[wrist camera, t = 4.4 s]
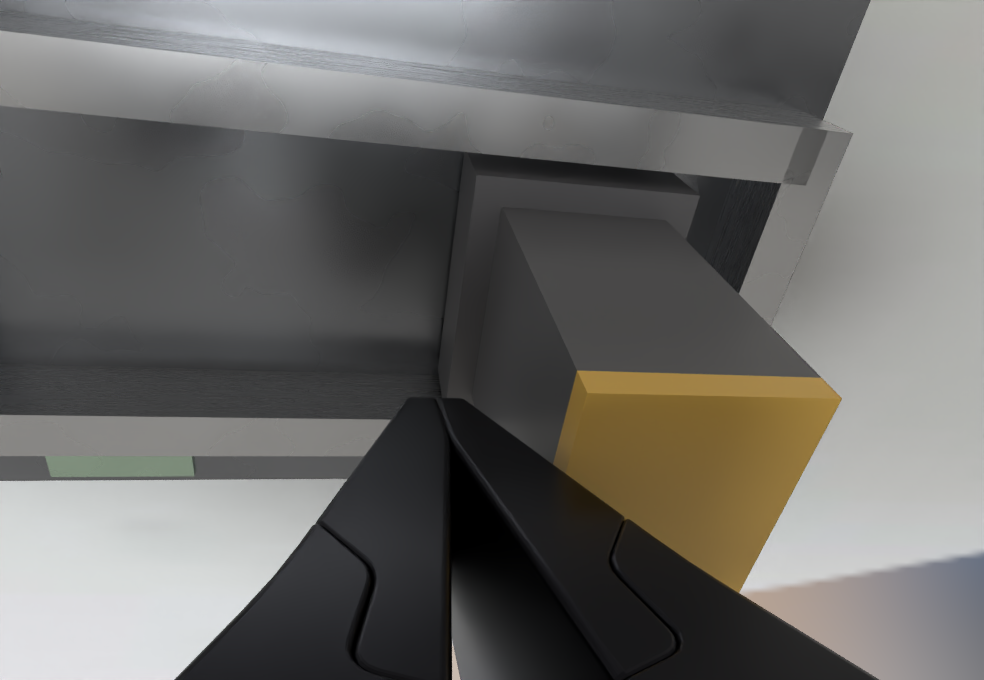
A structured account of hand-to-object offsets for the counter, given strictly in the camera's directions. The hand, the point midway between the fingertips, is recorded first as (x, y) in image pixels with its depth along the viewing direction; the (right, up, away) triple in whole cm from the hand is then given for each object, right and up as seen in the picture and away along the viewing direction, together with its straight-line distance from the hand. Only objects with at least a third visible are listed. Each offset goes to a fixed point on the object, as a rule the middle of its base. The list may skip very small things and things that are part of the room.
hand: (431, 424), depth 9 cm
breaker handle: (+2, +2, +5) cm, 6 cm away
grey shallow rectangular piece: (-2, +3, +5) cm, 6 cm away
